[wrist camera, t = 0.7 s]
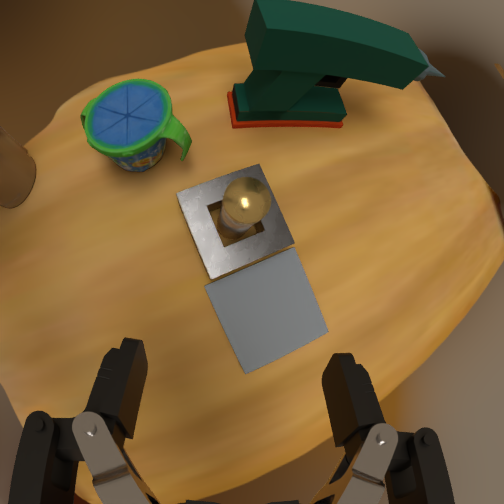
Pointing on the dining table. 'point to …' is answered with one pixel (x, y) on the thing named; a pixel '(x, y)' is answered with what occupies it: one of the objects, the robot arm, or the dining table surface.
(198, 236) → the socket block
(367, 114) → the dining table surface
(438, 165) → the dining table surface
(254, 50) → the power tool
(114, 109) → the snack cup
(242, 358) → the mat
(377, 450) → the robot arm
